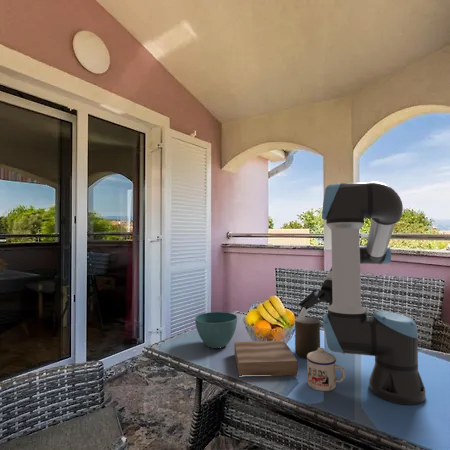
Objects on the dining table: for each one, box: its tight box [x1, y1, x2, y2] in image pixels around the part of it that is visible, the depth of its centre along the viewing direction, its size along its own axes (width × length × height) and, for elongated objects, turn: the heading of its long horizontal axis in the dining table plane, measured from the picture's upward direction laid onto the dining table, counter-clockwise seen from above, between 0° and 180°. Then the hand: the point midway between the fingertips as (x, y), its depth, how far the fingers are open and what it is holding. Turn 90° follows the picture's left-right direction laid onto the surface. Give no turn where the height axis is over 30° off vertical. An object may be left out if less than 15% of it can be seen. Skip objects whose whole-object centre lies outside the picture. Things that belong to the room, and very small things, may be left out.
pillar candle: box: [294, 316, 321, 360], centre depth 129 cm, size 10×10×15 cm
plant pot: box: [194, 311, 238, 349], centre depth 141 cm, size 18×18×12 cm
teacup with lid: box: [306, 347, 346, 392], centre depth 103 cm, size 12×9×12 cm
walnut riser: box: [233, 340, 298, 377], centre depth 120 cm, size 20×20×5 cm
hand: (311, 325), depth 132 cm, fingers open, 13 cm apart
